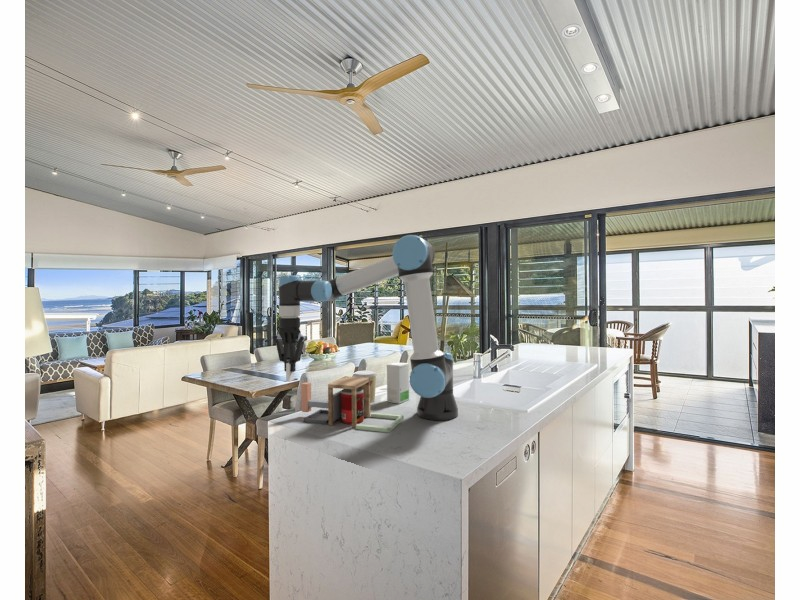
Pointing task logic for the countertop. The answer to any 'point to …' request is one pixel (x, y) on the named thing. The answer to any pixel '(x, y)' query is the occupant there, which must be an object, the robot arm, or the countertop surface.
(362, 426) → the bay
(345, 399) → the canned food
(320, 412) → the tray
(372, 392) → the coffee cup
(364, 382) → the tunnel
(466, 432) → the countertop surface
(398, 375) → the skincare box
